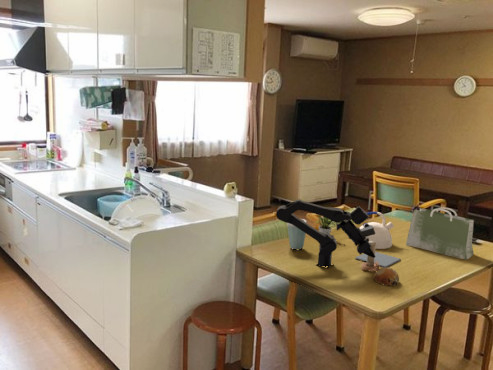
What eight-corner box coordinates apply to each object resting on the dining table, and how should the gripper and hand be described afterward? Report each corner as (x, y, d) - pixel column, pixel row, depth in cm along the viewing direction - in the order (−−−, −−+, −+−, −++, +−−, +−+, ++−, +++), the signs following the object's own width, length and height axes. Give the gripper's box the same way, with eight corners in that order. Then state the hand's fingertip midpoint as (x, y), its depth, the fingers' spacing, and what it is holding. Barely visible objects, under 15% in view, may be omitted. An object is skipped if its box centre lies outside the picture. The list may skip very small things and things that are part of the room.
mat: (385, 268, 207) (385, 266, 207) (354, 258, 218) (355, 257, 218) (400, 260, 218) (400, 258, 218) (371, 252, 229) (371, 250, 229)
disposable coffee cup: (299, 253, 223) (301, 224, 221) (281, 248, 230) (283, 220, 227) (309, 248, 232) (311, 220, 229) (292, 243, 238) (293, 216, 235)
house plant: (316, 242, 241) (318, 213, 238) (306, 235, 254) (308, 207, 251) (340, 241, 245) (342, 212, 242) (328, 234, 258) (331, 207, 255)
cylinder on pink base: (362, 270, 203) (365, 243, 201) (361, 266, 208) (364, 240, 205) (378, 272, 202) (381, 244, 199) (377, 268, 207) (379, 241, 204)
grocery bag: (474, 253, 233) (480, 211, 229) (467, 260, 223) (473, 215, 219) (414, 240, 254) (418, 200, 249) (404, 245, 243) (409, 204, 239)
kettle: (397, 250, 235) (401, 217, 231) (358, 248, 235) (361, 215, 232) (386, 238, 255) (389, 208, 251) (350, 237, 255) (353, 206, 252)
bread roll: (394, 286, 195) (393, 268, 197) (403, 286, 185) (402, 266, 187) (372, 286, 195) (371, 267, 197) (380, 285, 185) (379, 266, 187)
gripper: (367, 225, 192) (391, 251, 192) (363, 214, 210) (385, 239, 211) (347, 241, 195) (371, 267, 195) (345, 229, 213) (366, 253, 213)
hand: (374, 255), depth 203 cm, fingers closed on cylinder on pink base, 3 cm apart
